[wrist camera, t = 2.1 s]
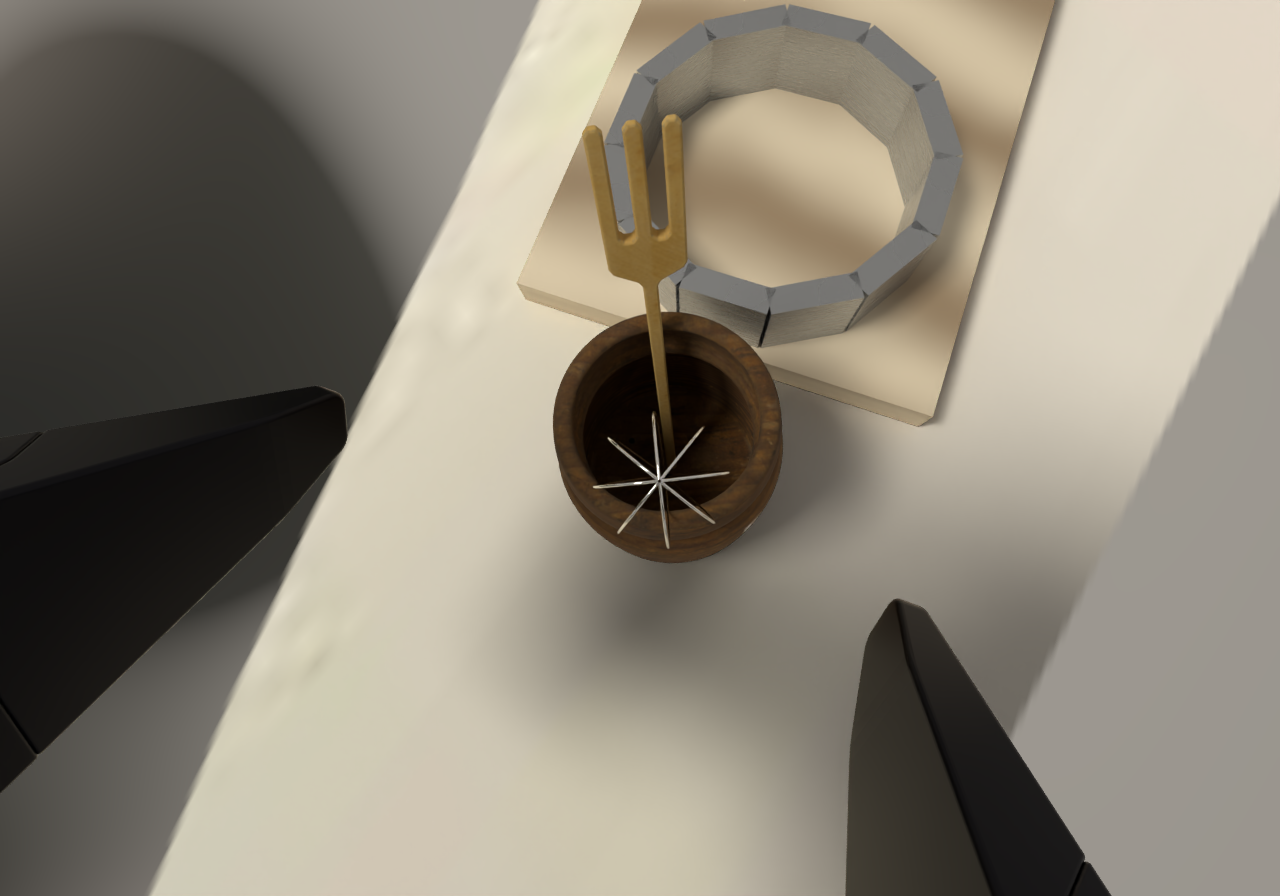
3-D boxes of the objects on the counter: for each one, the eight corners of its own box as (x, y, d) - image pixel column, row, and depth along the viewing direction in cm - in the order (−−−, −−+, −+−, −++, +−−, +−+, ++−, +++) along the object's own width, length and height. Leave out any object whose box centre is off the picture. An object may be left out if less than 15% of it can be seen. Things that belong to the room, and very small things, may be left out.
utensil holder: (590, 575, 20) (449, 560, 8) (576, 388, 21) (439, 144, 9) (776, 556, 19) (910, 512, 8) (749, 368, 21) (828, 90, 9)
